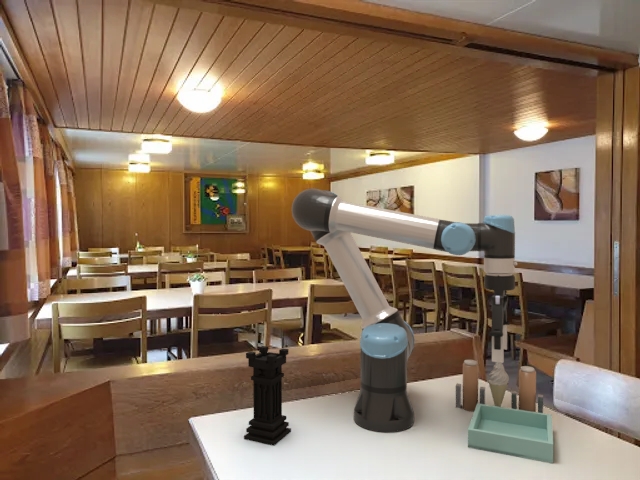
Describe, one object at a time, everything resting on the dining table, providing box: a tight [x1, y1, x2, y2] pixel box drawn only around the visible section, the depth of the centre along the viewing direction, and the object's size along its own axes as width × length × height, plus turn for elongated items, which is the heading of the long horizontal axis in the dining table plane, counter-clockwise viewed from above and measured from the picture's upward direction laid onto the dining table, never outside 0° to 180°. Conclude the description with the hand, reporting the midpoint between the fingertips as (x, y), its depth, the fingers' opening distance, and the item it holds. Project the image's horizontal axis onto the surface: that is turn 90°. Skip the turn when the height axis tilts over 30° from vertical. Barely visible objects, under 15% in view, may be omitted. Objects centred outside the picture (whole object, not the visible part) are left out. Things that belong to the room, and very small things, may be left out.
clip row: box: [455, 382, 544, 413], centre depth 124 cm, size 21×2×6 cm, turn 65°
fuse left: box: [462, 359, 479, 412], centre depth 127 cm, size 4×4×13 cm
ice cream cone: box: [487, 362, 510, 407], centre depth 124 cm, size 5×5×15 cm
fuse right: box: [518, 365, 537, 412], centre depth 121 cm, size 4×4×13 cm
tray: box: [467, 402, 554, 464], centre depth 109 cm, size 17×17×4 cm
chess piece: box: [243, 345, 292, 447], centre depth 111 cm, size 8×8×20 cm
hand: (499, 355), depth 124 cm, fingers open, 13 cm apart
